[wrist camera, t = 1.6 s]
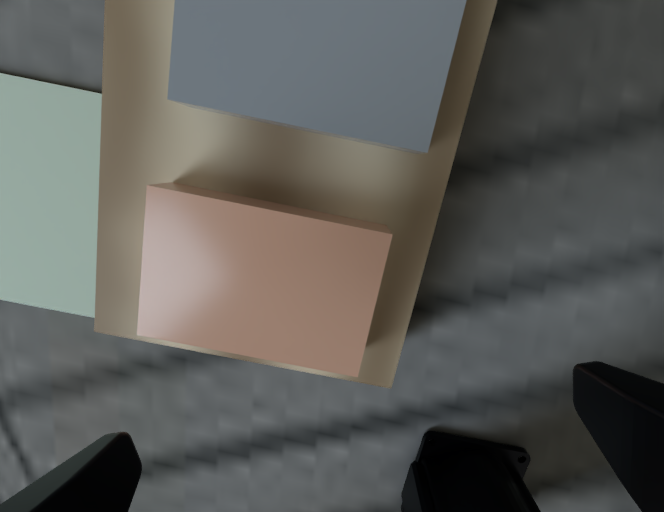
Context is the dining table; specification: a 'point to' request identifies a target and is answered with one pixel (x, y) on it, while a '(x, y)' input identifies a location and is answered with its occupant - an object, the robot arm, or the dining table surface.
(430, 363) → the dining table surface
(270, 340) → the terracotta tile
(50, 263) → the mat
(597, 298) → the dining table surface
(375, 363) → the tan flat block
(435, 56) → the slate tile
